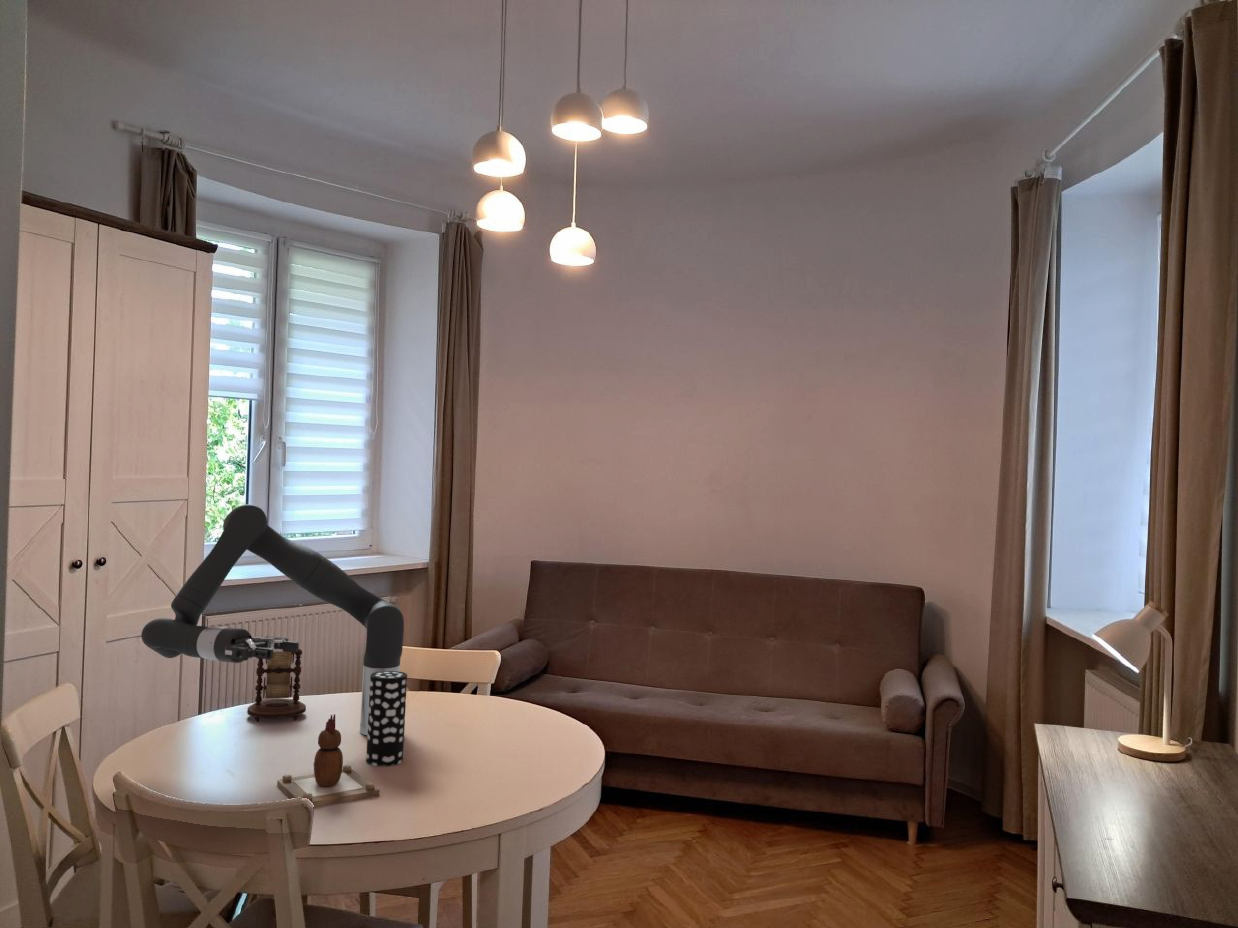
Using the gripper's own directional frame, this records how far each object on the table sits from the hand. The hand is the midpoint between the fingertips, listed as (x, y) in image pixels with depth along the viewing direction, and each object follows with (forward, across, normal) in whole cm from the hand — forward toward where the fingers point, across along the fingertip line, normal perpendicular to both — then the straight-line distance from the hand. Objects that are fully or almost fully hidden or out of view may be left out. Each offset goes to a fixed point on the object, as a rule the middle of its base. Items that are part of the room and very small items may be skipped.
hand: (285, 650), depth 198 cm
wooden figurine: (+14, -4, +26) cm, 30 cm away
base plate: (+15, -4, +27) cm, 31 cm away
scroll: (-31, +39, +28) cm, 57 cm away
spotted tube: (+14, +18, +28) cm, 36 cm away
